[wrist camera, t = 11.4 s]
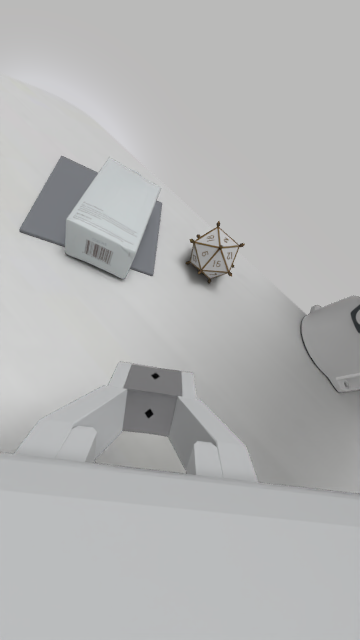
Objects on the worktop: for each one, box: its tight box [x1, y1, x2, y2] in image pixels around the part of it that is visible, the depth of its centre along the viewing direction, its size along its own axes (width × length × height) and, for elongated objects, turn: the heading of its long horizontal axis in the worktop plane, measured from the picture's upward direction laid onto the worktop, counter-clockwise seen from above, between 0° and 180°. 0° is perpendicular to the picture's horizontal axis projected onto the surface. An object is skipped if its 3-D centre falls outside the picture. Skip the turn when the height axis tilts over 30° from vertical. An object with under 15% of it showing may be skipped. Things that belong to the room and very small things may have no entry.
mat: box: [20, 156, 162, 276], centre depth 34 cm, size 17×17×1 cm
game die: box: [186, 221, 244, 283], centre depth 35 cm, size 9×8×10 cm
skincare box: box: [65, 157, 161, 279], centre depth 30 cm, size 8×6×15 cm
